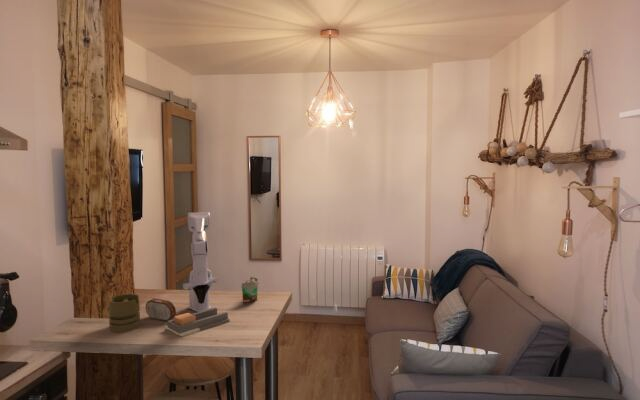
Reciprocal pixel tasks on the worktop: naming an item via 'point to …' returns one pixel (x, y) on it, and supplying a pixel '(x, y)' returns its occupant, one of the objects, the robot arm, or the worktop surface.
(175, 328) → the chute
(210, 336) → the worktop surface
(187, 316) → the block
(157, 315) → the tin
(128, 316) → the piston
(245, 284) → the food container
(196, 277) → the robot arm
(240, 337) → the worktop surface
